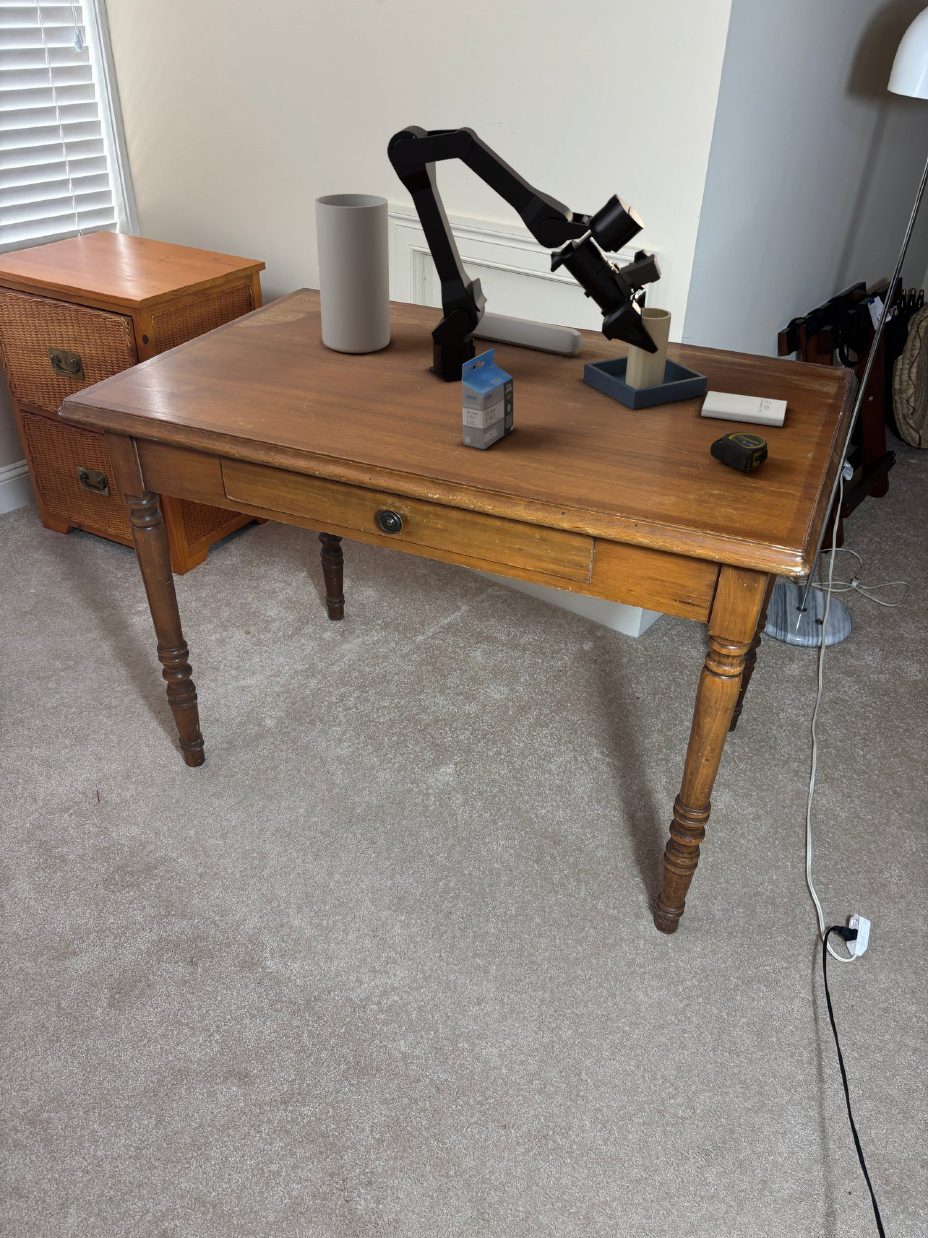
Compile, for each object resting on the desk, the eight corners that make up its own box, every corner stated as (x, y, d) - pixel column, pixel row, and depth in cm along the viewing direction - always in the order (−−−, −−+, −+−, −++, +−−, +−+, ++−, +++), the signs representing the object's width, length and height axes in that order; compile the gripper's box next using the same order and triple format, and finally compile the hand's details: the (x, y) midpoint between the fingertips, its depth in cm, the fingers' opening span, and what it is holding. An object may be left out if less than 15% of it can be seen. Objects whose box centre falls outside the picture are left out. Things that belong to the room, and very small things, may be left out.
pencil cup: (653, 393, 162) (662, 321, 155) (619, 386, 165) (626, 314, 158) (668, 382, 166) (677, 311, 159) (634, 375, 169) (642, 305, 162)
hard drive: (707, 399, 161) (785, 408, 158) (700, 417, 155) (782, 427, 151) (708, 389, 160) (787, 399, 157) (702, 407, 154) (784, 417, 151)
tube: (589, 330, 178) (471, 307, 189) (578, 328, 174) (458, 304, 184) (583, 360, 180) (466, 335, 191) (571, 358, 175) (453, 333, 186)
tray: (633, 409, 157) (635, 391, 156) (583, 380, 168) (584, 363, 166) (705, 394, 163) (707, 376, 161) (652, 367, 174) (654, 350, 172)
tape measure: (705, 461, 141) (709, 437, 139) (738, 450, 144) (742, 426, 142) (741, 478, 136) (746, 453, 134) (775, 466, 140) (779, 442, 138)
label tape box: (484, 450, 144) (485, 368, 137) (460, 444, 146) (461, 363, 139) (514, 430, 150) (516, 351, 143) (491, 424, 152) (492, 346, 145)
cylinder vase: (384, 355, 178) (381, 208, 164) (316, 352, 178) (307, 205, 165) (394, 335, 188) (392, 195, 174) (330, 331, 189) (323, 192, 175)
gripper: (630, 251, 145) (696, 330, 150) (637, 224, 160) (696, 296, 165) (574, 301, 151) (639, 376, 155) (585, 270, 166) (644, 339, 170)
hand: (656, 345), depth 161 cm, fingers closed on pencil cup, 6 cm apart
